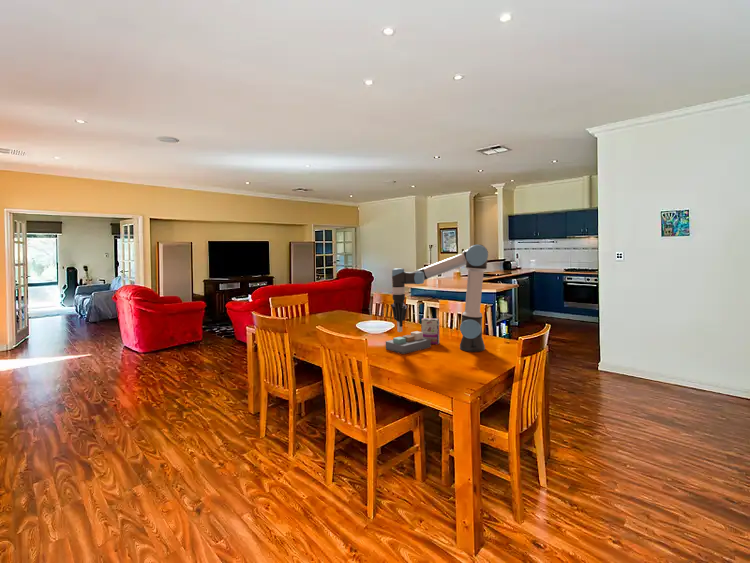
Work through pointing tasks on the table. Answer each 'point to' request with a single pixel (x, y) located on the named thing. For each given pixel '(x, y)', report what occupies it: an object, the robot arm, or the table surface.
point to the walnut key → (409, 338)
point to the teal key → (399, 340)
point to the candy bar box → (430, 329)
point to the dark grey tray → (408, 346)
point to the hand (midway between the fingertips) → (399, 331)
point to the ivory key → (417, 335)
